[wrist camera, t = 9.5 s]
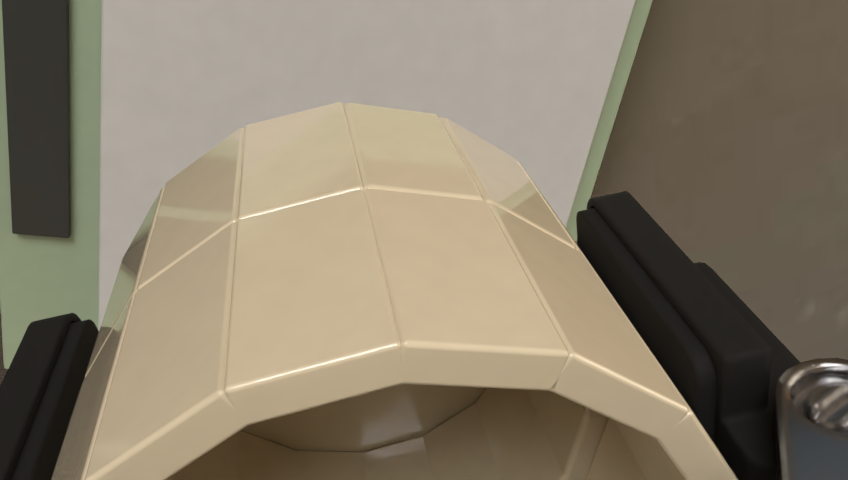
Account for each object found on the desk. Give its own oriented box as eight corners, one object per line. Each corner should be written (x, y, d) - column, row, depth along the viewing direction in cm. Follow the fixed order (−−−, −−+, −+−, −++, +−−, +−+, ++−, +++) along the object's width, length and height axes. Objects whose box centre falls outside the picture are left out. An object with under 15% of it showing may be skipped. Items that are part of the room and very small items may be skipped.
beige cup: (121, 454, 13) (27, 866, 8) (131, 59, 10) (-6, 318, 5) (502, 464, 15) (625, 813, 10) (608, 125, 12) (867, 371, 7)
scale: (24, 324, 22) (-4, 385, 19) (-1, -280, 15) (-46, -293, 13) (511, 352, 25) (535, 406, 23) (654, -133, 19) (707, -124, 16)
